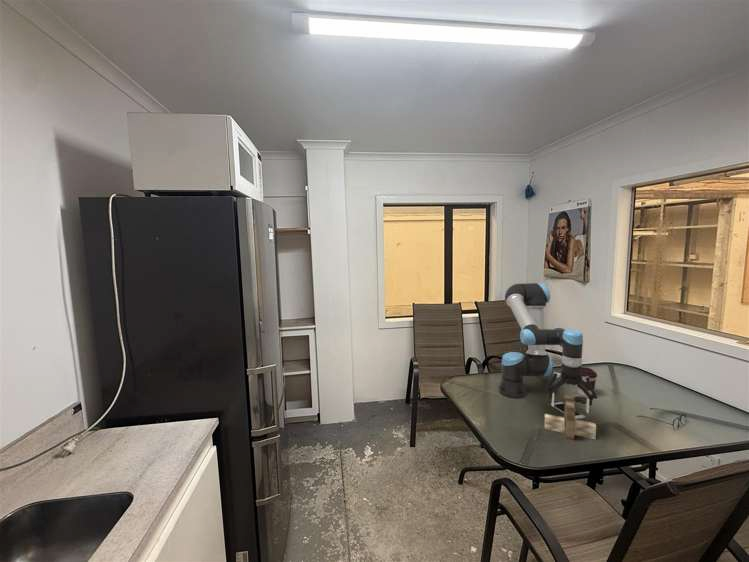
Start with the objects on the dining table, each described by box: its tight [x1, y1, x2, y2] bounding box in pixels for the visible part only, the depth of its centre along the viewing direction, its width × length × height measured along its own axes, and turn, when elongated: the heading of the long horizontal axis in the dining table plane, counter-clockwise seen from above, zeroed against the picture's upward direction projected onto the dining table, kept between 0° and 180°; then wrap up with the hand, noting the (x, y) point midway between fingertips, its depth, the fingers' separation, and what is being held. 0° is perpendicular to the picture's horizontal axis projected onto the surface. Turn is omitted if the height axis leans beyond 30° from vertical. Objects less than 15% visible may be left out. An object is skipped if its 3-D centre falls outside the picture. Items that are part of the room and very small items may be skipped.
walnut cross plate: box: [563, 395, 576, 441], centre depth 145 cm, size 12×3×15 cm, turn 153°
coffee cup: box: [577, 366, 598, 397], centre depth 179 cm, size 10×10×15 cm
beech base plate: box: [544, 413, 597, 440], centre depth 145 cm, size 20×3×6 cm, turn 63°
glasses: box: [636, 407, 687, 431], centre depth 153 cm, size 14×15×5 cm
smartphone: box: [550, 401, 586, 420], centre depth 163 cm, size 7×15×1 cm, turn 11°
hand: (569, 408), depth 144 cm, fingers open, 13 cm apart
